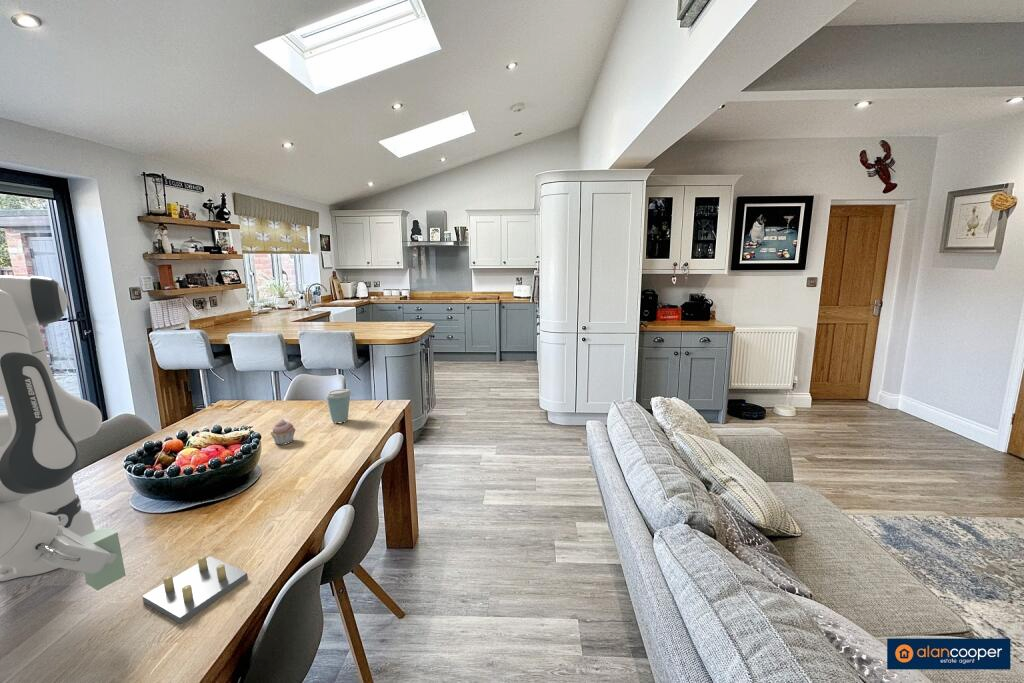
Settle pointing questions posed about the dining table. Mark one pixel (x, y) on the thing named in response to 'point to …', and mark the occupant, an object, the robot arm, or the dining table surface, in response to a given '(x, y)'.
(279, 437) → the cupcake
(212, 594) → the plate
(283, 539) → the dining table surface
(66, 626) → the dining table surface
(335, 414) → the disposable coffee cup
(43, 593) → the dining table surface
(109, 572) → the green block
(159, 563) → the dining table surface
